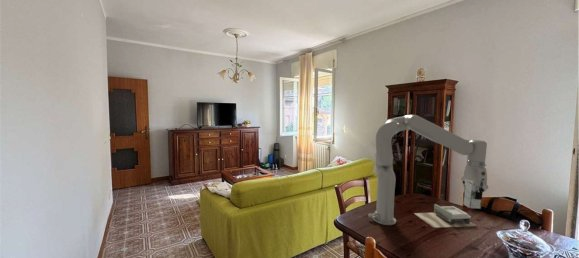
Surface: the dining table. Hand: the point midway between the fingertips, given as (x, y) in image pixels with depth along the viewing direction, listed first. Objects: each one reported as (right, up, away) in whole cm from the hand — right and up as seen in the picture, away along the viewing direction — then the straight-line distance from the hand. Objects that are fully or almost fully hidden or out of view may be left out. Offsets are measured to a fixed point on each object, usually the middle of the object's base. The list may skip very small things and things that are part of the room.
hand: (472, 196), depth 127 cm
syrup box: (0, -6, +1) cm, 6 cm away
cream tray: (-5, -19, +16) cm, 25 cm away
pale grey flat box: (0, -19, +17) cm, 25 cm away
